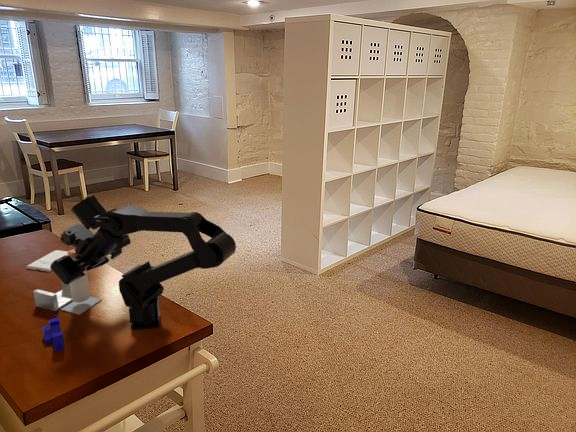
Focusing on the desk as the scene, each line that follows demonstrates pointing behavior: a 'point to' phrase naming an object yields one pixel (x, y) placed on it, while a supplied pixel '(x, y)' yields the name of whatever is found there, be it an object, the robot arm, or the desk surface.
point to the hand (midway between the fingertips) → (73, 274)
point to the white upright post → (79, 283)
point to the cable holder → (54, 334)
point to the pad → (81, 306)
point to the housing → (53, 298)
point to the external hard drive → (47, 261)
